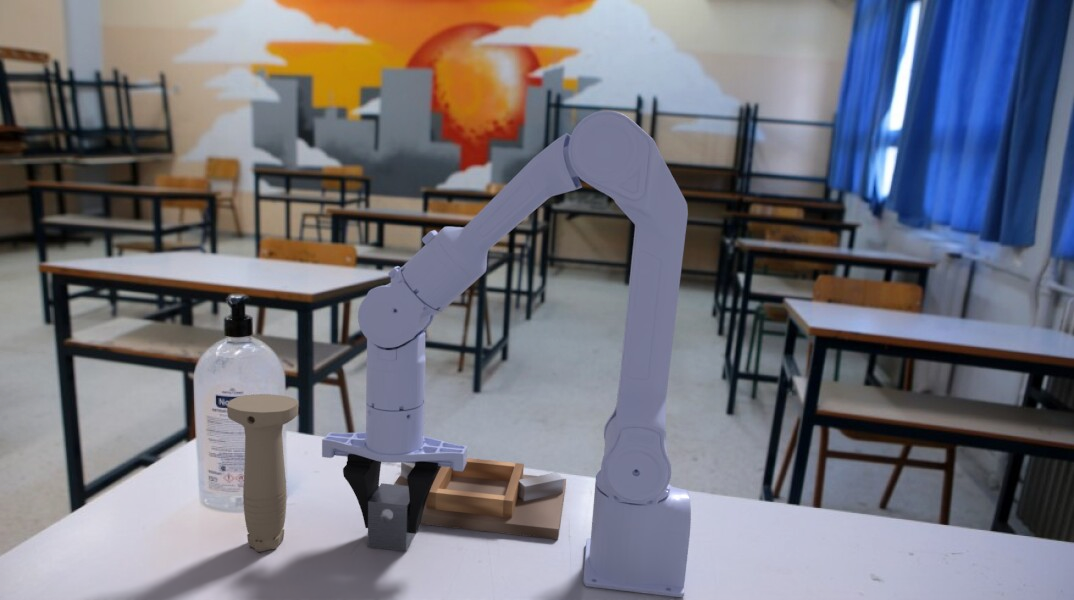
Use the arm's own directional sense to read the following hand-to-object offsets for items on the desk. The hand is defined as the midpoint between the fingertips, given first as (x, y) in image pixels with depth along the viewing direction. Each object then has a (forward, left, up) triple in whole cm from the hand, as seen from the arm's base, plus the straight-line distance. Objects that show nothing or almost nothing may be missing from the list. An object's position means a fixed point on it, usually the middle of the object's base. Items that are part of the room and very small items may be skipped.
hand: (393, 525), depth 70 cm
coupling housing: (-7, -10, -2) cm, 12 cm away
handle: (+12, +3, -2) cm, 13 cm away
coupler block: (0, 0, -1) cm, 1 cm away
